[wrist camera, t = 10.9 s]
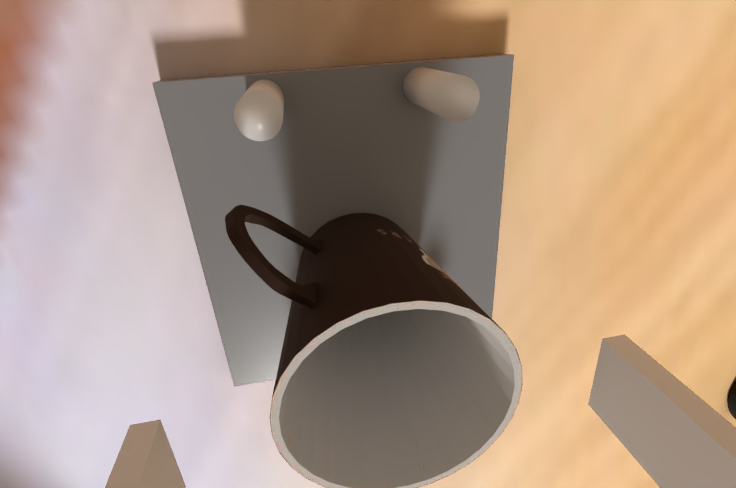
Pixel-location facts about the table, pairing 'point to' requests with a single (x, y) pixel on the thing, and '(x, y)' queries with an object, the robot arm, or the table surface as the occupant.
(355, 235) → the coffee mug
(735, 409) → the webcam
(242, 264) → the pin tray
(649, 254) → the table surface
